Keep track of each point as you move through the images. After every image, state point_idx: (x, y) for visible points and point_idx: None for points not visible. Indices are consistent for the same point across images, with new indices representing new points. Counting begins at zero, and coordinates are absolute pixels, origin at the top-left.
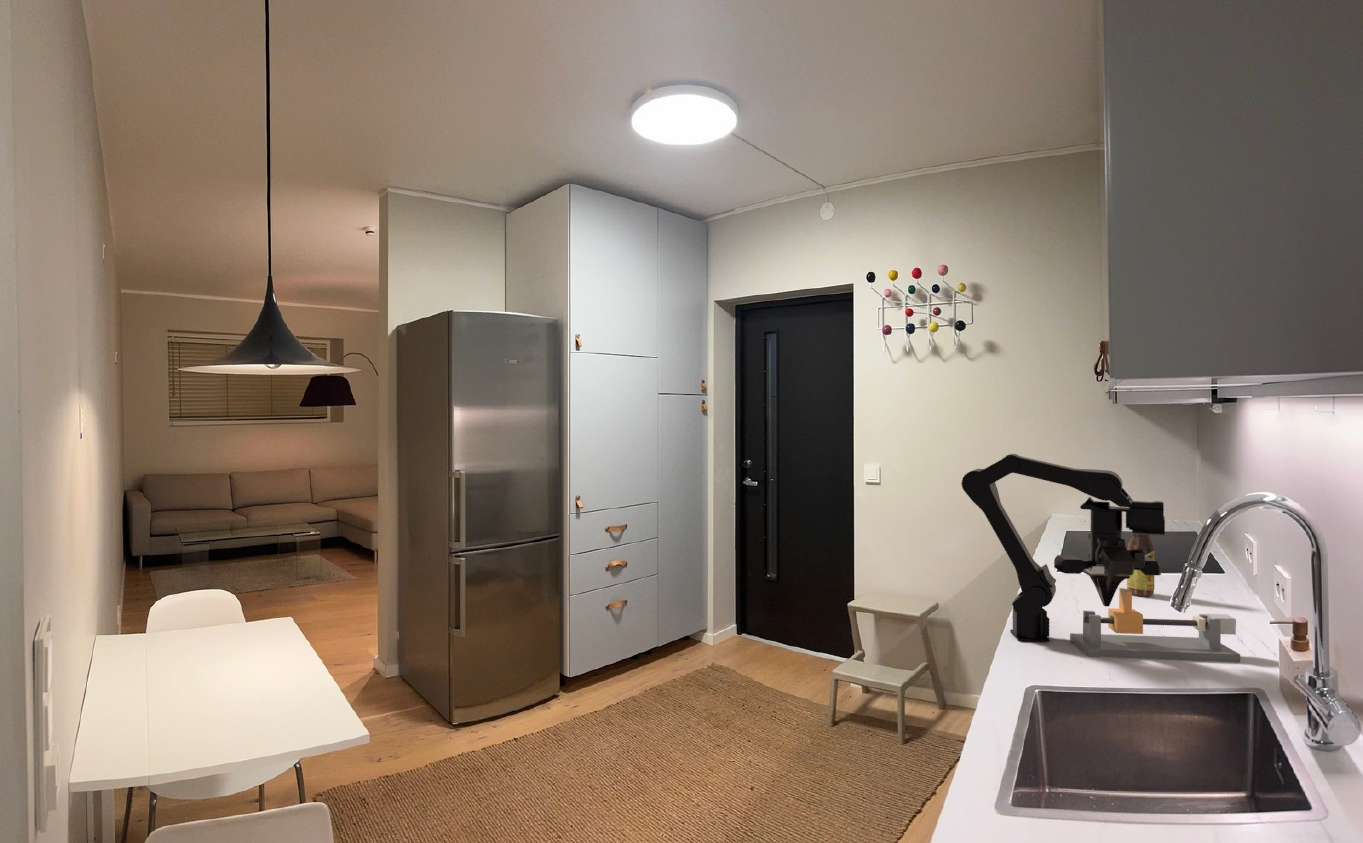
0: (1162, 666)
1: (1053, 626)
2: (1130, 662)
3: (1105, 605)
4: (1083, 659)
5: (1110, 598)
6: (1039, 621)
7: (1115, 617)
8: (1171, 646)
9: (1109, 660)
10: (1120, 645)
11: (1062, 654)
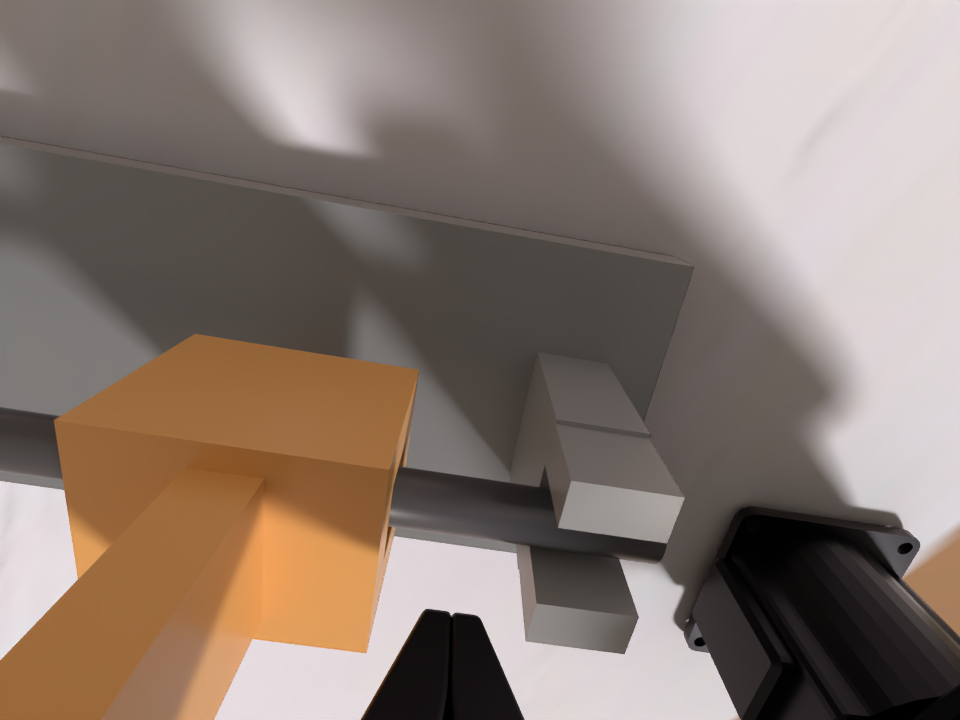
0: (255, 2)
1: (532, 714)
2: (452, 113)
3: (475, 623)
4: (752, 199)
5: (404, 713)
6: (870, 631)
7: (394, 468)
8: (27, 282)
9: (580, 167)
10: (404, 326)
11: (819, 306)
